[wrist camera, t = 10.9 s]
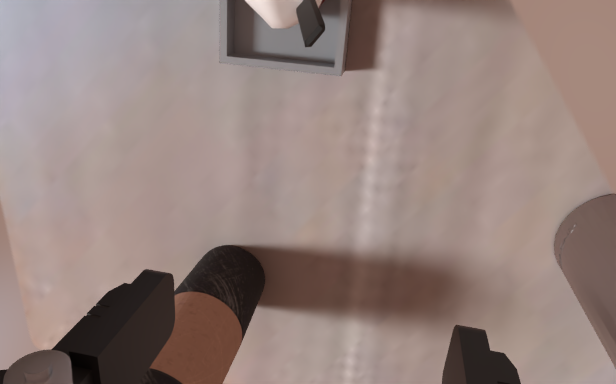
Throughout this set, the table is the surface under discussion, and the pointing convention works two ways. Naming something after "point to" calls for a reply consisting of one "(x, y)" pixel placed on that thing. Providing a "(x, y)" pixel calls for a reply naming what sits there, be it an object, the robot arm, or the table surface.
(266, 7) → the cocoa
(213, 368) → the travel mug
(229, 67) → the table surface
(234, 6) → the tray
